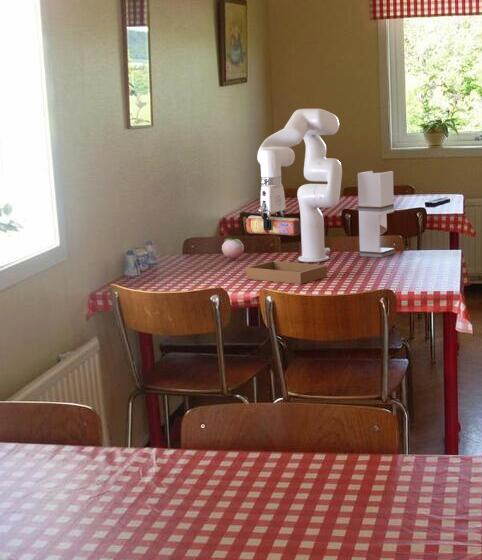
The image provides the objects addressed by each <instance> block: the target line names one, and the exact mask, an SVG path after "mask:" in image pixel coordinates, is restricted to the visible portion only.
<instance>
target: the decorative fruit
mask: <svg viewBox="0 0 482 560" xmlns="http://www.w3.org/2000/svg"><path fill="white" fill-rule="evenodd" d="M244 246H245V245H244V244H243V242H242V241H241V239H238V238H234V237H233V236H231V238H225V239H224V240H223V244H222V245H221V251H222V254H224V257H226V258H228V259H229V260H232V261H235V260H236V259H239V258H240V257H241V256H242V255H243V252H244V251H245V247H244Z"/></svg>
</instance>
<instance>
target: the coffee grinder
mask: <svg viewBox="0 0 482 560" xmlns="http://www.w3.org/2000/svg"><path fill="white" fill-rule="evenodd" d="M357 197H358V198H357V199H358V234H359V235H358V236H359V238H358V240H359V256H360V257H371V258H385V257H387V256H390V255H394V254H395V251H396V249H395V248H393V247H381V235H383V234H385V233H386V232H387V230H388V221H387V220H388V219H387V218H388V217H387V214H392V213H395V205H394V204H395V203H394V202H395V201H394V197H395V195H394V171H393V170H390V171H384V172H374V171H373V170H368V171H361V172H358V173H357Z"/></svg>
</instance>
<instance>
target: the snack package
mask: <svg viewBox="0 0 482 560" xmlns="http://www.w3.org/2000/svg"><path fill="white" fill-rule="evenodd" d="M269 220H271V230H264V228H263V219H262V217H261V215H249V216H248V217H247V218H246V221H245V225H246V227H245V228H246V232H247V233H248V234H261V235H281V236H282V235H284V236H297V235H298V236H299V234H301V219H299V218H298V217H283V218H282V217H277V216H270V219H269Z"/></svg>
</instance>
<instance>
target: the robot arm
mask: <svg viewBox="0 0 482 560" xmlns="http://www.w3.org/2000/svg"><path fill="white" fill-rule="evenodd" d="M339 128H340V122H339V118H338V117H337V116H336V114H334V113H332V112H330V111H328V110H325V109H322V108H299V109H296V110H295V111H294V112H293V113H292V115H291V116H290V118H289V120H288V121H287V123H286V124H285V125H284V127H283V128H282V129H280V130H278V131H277V132H275V133H272V134H271V135H269V136H267V137H266V138H265V139H264V141H262V143H261V144H260V146H259V148H258V150H257V155H256V159H257V162H258V164H259V165H260V182H261V187H260V207H259V208H258V213H259V216H261V217H262V219H263V228H264V230H271V220H269V219H270V217H271V215H272V214H274V213H275V217H282V218H284V216H285V212H286V209H287V204H286V196H285V189H284V186H283V184H282V167H283V168H285V167H289V166H291V165H292V164H293V163H294V162H295V158H296V155H295V154H296V153H295V152H294V150H293V148H292V147H295V146H298V145H300V144H301V142H302V141H304V145H305V153H304V163H303V177H304V179H305V180H307V181H309V182H327V183H306V184H305V183H304V184H303V185H301V186H299V187H298V189H297V193H296V195H297V201H298V207H299V216H300V224H301V232H300V239H301V240H300V241H301V243H300V244H301V255H300V256H298V258H297V260H298V261H299V262H304V263H319V262H326V261H329V259H330V257H329V255H326V254H329V253H330V252H331V248H330V247H325V220H324V216H323V213H322V212H321V210H320V209H319V208H335V207H337V206H338V204H339V202H340V198H341V188H342V187H341V186H342V177H343V169H342V164H341V162H340V161H339V159H337V158H334V157H333V158H332V157H327V145H326V143H325V142H324V140H323V138H321V136H333V135H335V134H337V132H338V131H339Z"/></svg>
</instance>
